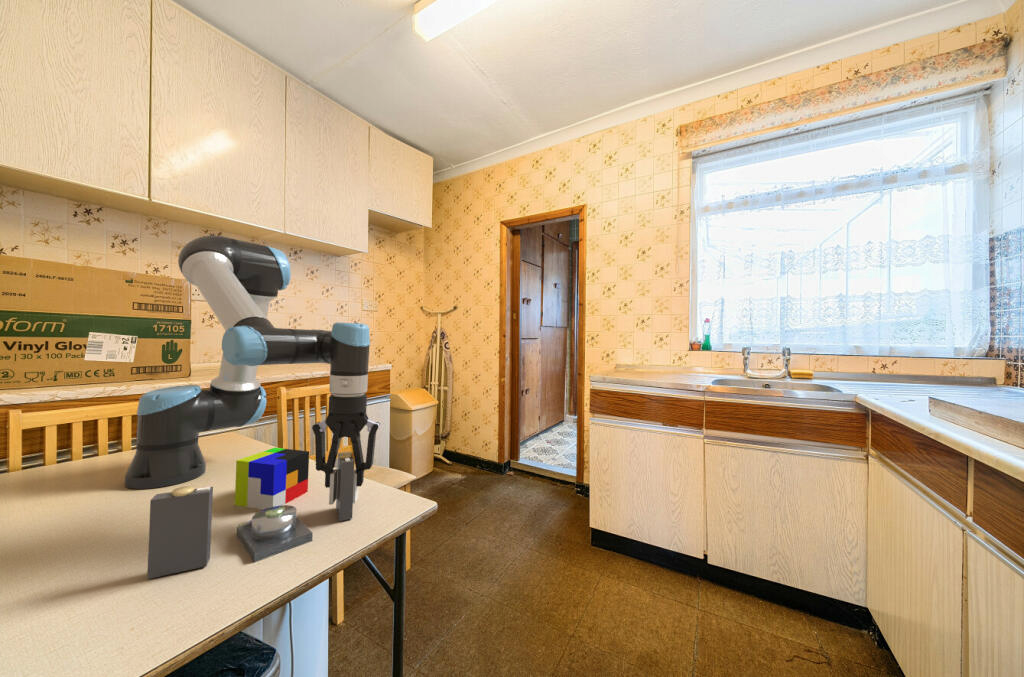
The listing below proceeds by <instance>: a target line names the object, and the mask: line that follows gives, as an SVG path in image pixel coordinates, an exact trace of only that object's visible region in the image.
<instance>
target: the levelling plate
mask: <svg viewBox="0 0 1024 677" xmlns="http://www.w3.org/2000/svg"><path fill="white" fill-rule="evenodd" d="M297 510H298V509H297V507H295V506H292V505H290V504H289V505H287V504H284V505H281V506H274V507H270V508H267V509H260V511H257V512H256V513H255V514H253V516H252V517H251V520H249V521H247V522H243V523H242V522H241V523H240V524H238V525H237V526H236V533H235V534H236V537H237V538H238V540H239V541H240V543H241V544H242V546H243V547H244V549H245V550H246V553H248V555H249V557H250V559H252V561H253V562H254V563H256V562H258V561H261V560H264V559H267V558H269V557H273V556H275V555H277V554H281V553H283V552H286V551H288V550H291V549H294V548H296V547H300V546H301V545H305V544H307V543H309V542H313V532H312V531H311V530H310V529H309V528H308V527H307V526H306V525H305V524H304V523H303V522H302V521H301V520H300V519H299V518H298V517H297Z"/></svg>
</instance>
